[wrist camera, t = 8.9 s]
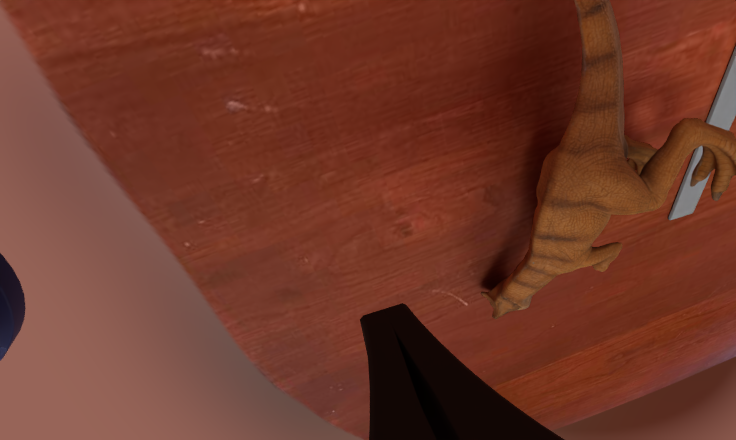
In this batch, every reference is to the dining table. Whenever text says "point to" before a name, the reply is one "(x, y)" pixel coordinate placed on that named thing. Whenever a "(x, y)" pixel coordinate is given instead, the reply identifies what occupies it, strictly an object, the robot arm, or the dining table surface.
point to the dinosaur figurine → (603, 169)
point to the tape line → (728, 103)
